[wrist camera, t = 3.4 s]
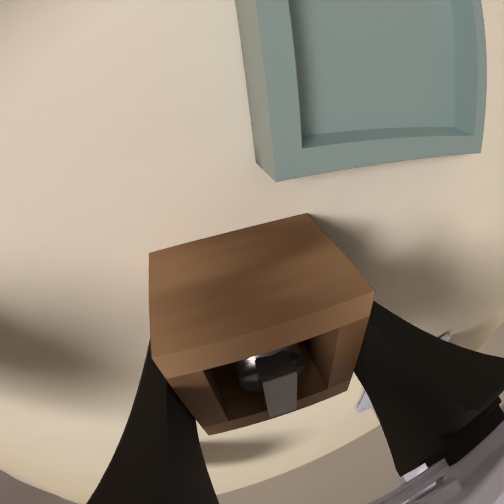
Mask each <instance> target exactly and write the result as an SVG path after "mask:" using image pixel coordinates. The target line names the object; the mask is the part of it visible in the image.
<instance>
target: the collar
mask: <svg viewBox="0 0 504 504" xmlns="http://www.w3.org/2000/svg"><path fill="white" fill-rule="evenodd" d="M375 291H376V290H375V289H374V288H373V287H372V285H371V284H370V283H369V282H368V281H367V280H366V278H365V277H364V276H363V275H362V274H361V273H360V271H359V270H358V269H357V268H356V267H355V266H354V265H353V263H352V262H351V261H350V260H349V259H348V258H347V257H346V255H345V254H344V253H343V252H342V251H341V250H340V249H339V248H338V247H337V245H336V244H335V243H334V242H333V241H332V240H331V239H330V238H329V237H328V236H327V234H326V233H325V232H324V231H323V230H322V229H321V228H320V227H319V226H318V225H317V224H316V223H315V221H314V220H313V219H312V218H311V217H310V216H309V215H308V214H303V215H298V216H294V217H290V218H286V219H282V220H278V221H273V222H269V223H265V224H261V225H257V226H253V227H249V228H245V229H241V230H237V231H233V232H229V233H225V234H221V235H217V236H213V237H209V238H206V239H202V240H198V241H194V242H190V243H186V244H183V245H179V246H175V247H171V248H168V249H164V250H160V251H156V252H153V253H149V315H150V338H151V354H152V359H153V361H154V362H155V364H156V365H157V367H158V368H159V370H160V371H161V373H162V374H163V376H164V377H165V378H166V380H167V381H168V383H169V384H170V386H171V387H172V388H173V390H174V391H175V393H176V394H177V395H178V397H179V398H180V399H181V401H182V402H183V403H184V405H185V406H186V407H187V409H188V410H189V411H190V413H191V414H192V415H193V416H194V418H195V419H196V420H197V422H198V423H199V424H200V425H201V427H202V428H203V429H204V430H205V431H206V433H207V434H208V435H213V434H217V433H222V432H226V431H230V430H234V429H238V428H241V427H245V426H249V425H252V424H256V423H259V422H263V421H266V420H269V419H272V418H275V417H279V416H282V415H285V414H288V413H290V412H293V411H296V410H299V409H302V408H305V407H307V406H310V405H313V404H315V403H318V402H320V401H323V400H325V399H328V398H330V397H333V396H335V395H338V394H340V393H342V392H345V391H347V389H348V386H349V384H350V381H351V378H352V375H353V371H354V368H355V365H356V362H357V359H358V356H359V352H360V349H361V345H362V342H363V338H364V335H365V331H366V328H367V324H368V320H369V316H370V312H371V308H372V304H373V300H374V296H375ZM295 343H297V344H298V346H299V348H300V350H301V352H302V354H303V356H304V358H305V367H304V369H303V370H302V372H301V373H300V374H299V375H298V376H297V405H296V409H295V410H293V411H290V412H287V413H284V414H281V415H278V416H274V417H271V418H269V416H268V413H267V411H266V408H265V405H264V403H263V400H262V395H261V392H254V391H248V390H245V389H244V388H242V387H241V386H240V383H239V380H238V377H237V374H236V371H235V367H234V364H233V362H236V361H240V360H244V359H247V358H250V357H254V356H257V355H261V354H264V353H267V352H270V351H273V350H277V349H280V348H283V347H286V346H289V345H292V344H295Z"/></svg>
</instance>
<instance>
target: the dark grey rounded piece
mask: <svg viewBox="0 0 504 504" xmlns="http://www.w3.org/2000/svg"><path fill="white" fill-rule="evenodd" d="M233 364H234V367H235V371H236V374H237V377H238V380H239V383H240V386H241V387H242V388H244V389H245V390H248V391H254V392H261V395H262V400H263V403H264V405H265V408H266V411H267V413H268V416H269V418H271V417H274V416H278V415H281V414H284V413H287V412H290V411H293V410H295V409H296V405H297V376H298V375H299V374H300V373H301V372H302V370H303V369H304V367H305V358H304V356H303V354H302V352H301V350H300V348H299V346H298V344H297V343H295V344H292V345H289V346H286V347H283V348H280V349H277V350H273V351H270V352H267V353H264V354H261V355H257V356H254V357H250V358H247V359H244V360H240V361H236V362H233Z"/></svg>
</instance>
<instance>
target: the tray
mask: <svg viewBox="0 0 504 504" xmlns="http://www.w3.org/2000/svg"><path fill="white" fill-rule="evenodd" d="M235 2H236V9H237V17H238V24H239V31H240V38H241V46H242V53H243V61H244V69H245V76H246V84H247V92H248V100H249V108H250V116H251V124H252V133H253V141H254V149H255V158H256V163H257V164H258V165H259V166H260V167H261V168H262V169H263V170H264V171H265V172H266V173H267V174H268V175H269V176H270V177H271V178H272V179H273V180H274V181H275V182H279V181H283V180H289V179H294V178H299V177H304V176H309V175H315V174H320V173H326V172H332V171H338V170H344V169H350V168H356V167H362V166H369V165H376V164H383V163H390V162H397V161H405V160H413V159H422V158H431V157H440V156H450V155H461V154H474V153H481V147H482V139H483V131H484V121H485V108H486V87H487V60H486V40H485V28H484V19H483V11H482V4H481V0H235Z"/></svg>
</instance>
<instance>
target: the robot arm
mask: <svg viewBox="0 0 504 504" xmlns="http://www.w3.org/2000/svg"><path fill="white" fill-rule="evenodd" d="M450 338H451V335H450V333H447V334H446V335H444V336H443V337H441V338H438V337H435V336H433V335H431V334H429V333H427V332H425V331H423V330H421V329H419V328H417V327H415V326H414V325H412V324H410V323H408V322H407V321H405V320H403V319H401V318H400V317H398V316H396V315H395V314H393V313H392V312H390V311H389V310H387V309H385V308H384V307H382V306H381V305H379V304H378V303H376V302H375V301H373V304H372V308H371V312H370V316H369V320H368V324H367V328H366V331H365V335H364V338H363V342H362V345H361V349H360V352H359V356H358V359H357V362H356V365H355V368H354V373H355V374H356V376H357V377H358V379H359V381H360V382H361V384H362V386H363V387H364V389H365V393H364V395H363V397H362V399H361V401H360V404H359V406H358V408H357V412H358V413H360V412H362V411H364V410H366V409H368V408H370V407H372V409H373V411H374V413H375V414H376V416H377V418H378V420H379V422H380V424H381V426H382V429H383V431H384V434H385V437H386V439H387V442H388V445H389V448H390V451H391V454H392V457H393V460H394V464H395V467H396V470H397V472H398V474H399V476H400V477H401V476H402V477H401V479H400V483H399V486H398V487H397V488H396V489H394V490H392V491H390V492H388V493H387V494H385V495H383V496H381V497H379V498H377V499H376V500H373V501H371V502H370V503H367V504H504V403H503V404H502V405H501V406H499V404H500V403H501V399H500V398H499V395H500V394H501V393H502V392H503V391H504V358H501V357H496V356H491V355H487V354H483V353H479V352H476V351H472V350H469V349H466V348H463V347H460V346H457V345H455V344H452V343H450V342H449V340H450ZM87 504H219V502H218V500H217V497H216V494H215V491H214V489H213V486H212V483H211V480H210V477H209V474H208V471H207V468H206V464H205V461H204V458H203V454H202V451H201V447H200V443H199V438H198V432H197V426H196V419H195V418H194V416H193V415H192V414H191V413H190V411H189V410H188V409H187V407H186V406H185V405H184V403H183V402H182V401H181V399H180V398H179V397H178V395H177V394H176V393H175V391H174V390H173V388H172V387H171V386H170V384H169V383H168V381H167V380H166V378H165V377H164V376H163V374H162V373H161V371H160V370H159V368H158V367H157V365H156V364H155V362H154V361H153V359H152V354H151V338H150V341H149V346H148V351H147V355H146V360H145V364H144V368H143V372H142V375H141V379H140V383H139V387H138V390H137V394H136V397H135V400H134V403H133V406H132V410H131V413H130V416H129V419H128V421H127V424H126V427H125V429H124V432H123V435H122V437H121V439H120V442H119V444H118V446H117V449H116V451H115V453H114V455H113V458H112V460H111V462H110V464H109V466H108V468H107V469H106V471H105V473H104V475H103V477H102V479H101V481H100V483H99V484H98V486H97V488H96V490H95V491H94V493H93V494H92V496H91V497H90V499H89V501H88V502H87Z"/></svg>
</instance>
